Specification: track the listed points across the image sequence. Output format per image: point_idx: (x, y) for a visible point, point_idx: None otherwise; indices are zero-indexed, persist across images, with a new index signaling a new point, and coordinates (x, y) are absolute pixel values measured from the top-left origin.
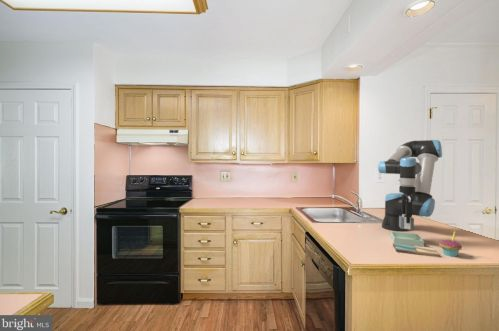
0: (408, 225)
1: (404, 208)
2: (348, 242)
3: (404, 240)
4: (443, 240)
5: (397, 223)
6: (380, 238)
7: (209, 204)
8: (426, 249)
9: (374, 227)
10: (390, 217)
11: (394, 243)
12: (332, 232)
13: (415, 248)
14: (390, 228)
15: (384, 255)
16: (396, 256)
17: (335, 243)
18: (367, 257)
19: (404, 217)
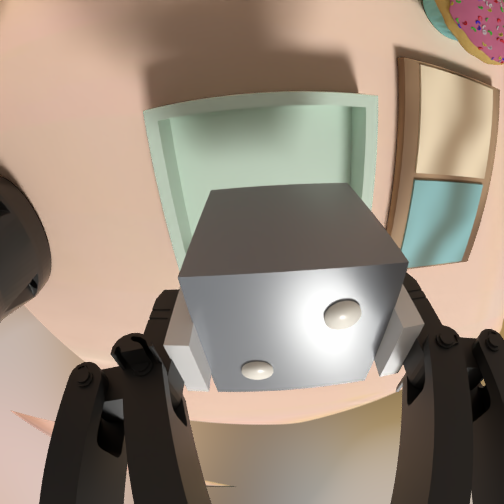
0: None
1: (198, 483)
2: (370, 377)
3: None
4: (485, 27)
5: (10, 251)
6: None
7: None
8: (457, 120)
9: (65, 316)
10: (2, 306)
11: None
12: (263, 413)
13: (449, 174)
14: (46, 263)
15: (481, 289)
16: (492, 258)
17: (384, 390)
18: (484, 321)
19: (337, 362)
